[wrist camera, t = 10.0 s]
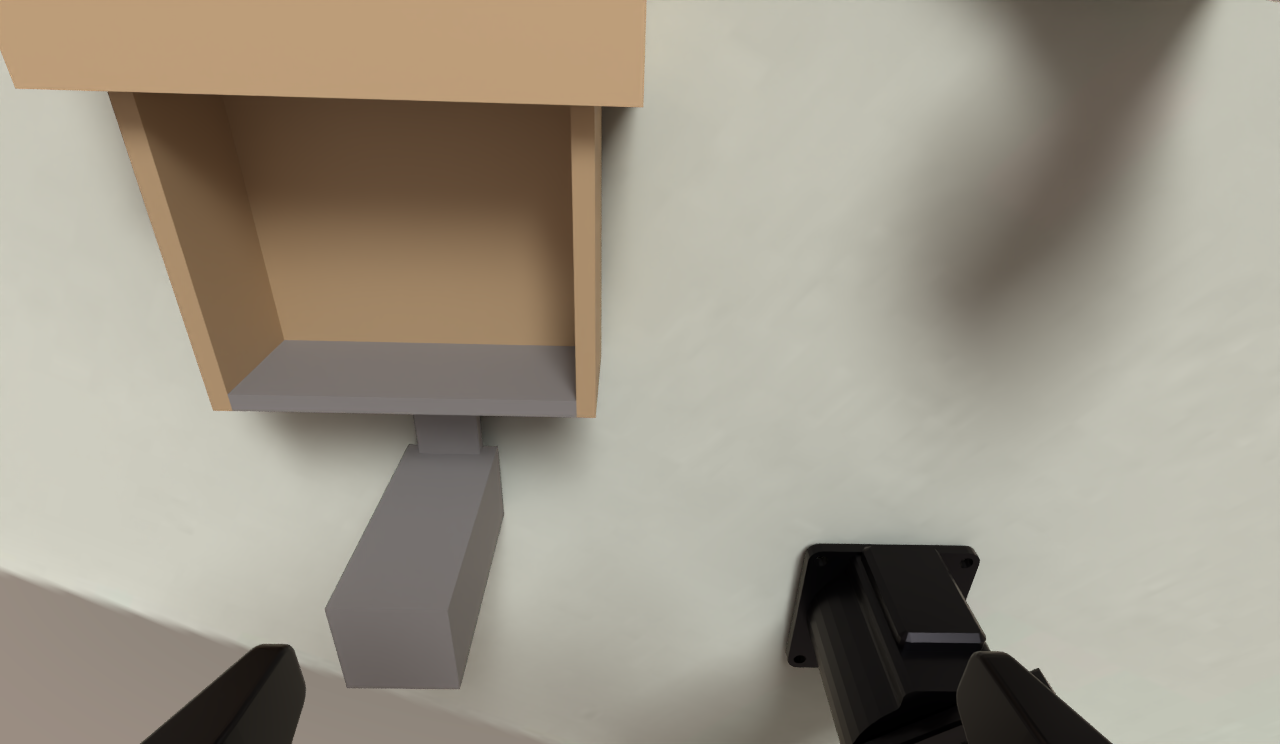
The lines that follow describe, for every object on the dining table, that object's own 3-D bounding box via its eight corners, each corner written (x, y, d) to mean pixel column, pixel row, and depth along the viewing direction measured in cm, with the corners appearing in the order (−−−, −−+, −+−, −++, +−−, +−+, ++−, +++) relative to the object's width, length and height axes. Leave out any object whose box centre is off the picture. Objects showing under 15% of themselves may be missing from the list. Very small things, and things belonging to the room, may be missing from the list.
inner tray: (601, 515, 24) (590, 690, 18) (321, 511, 24) (214, 686, 18) (601, -172, 15) (580, -303, 8) (139, -191, 14) (-231, -339, 8)
